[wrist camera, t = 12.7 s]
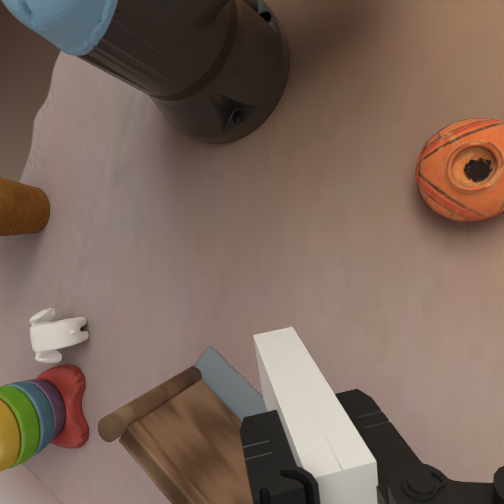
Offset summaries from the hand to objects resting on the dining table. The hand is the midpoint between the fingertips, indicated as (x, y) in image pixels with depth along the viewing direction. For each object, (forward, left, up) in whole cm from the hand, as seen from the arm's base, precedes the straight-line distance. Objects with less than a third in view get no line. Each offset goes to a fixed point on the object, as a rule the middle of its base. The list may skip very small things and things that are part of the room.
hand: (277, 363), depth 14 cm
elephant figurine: (-33, -18, -24) cm, 44 cm away
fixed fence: (-7, -18, -24) cm, 31 cm away
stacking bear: (-33, -29, -24) cm, 50 cm away
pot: (+5, +12, -24) cm, 28 cm away
